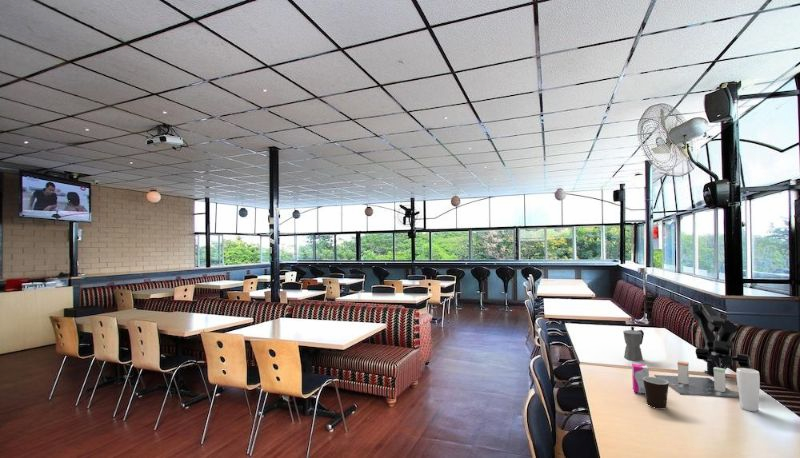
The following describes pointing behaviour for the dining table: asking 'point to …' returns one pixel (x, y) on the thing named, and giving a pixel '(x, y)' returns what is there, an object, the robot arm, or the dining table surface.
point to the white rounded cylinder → (748, 388)
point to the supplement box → (639, 377)
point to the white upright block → (719, 379)
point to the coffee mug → (656, 391)
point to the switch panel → (696, 387)
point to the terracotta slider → (683, 372)
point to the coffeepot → (633, 344)
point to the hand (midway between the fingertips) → (720, 373)
